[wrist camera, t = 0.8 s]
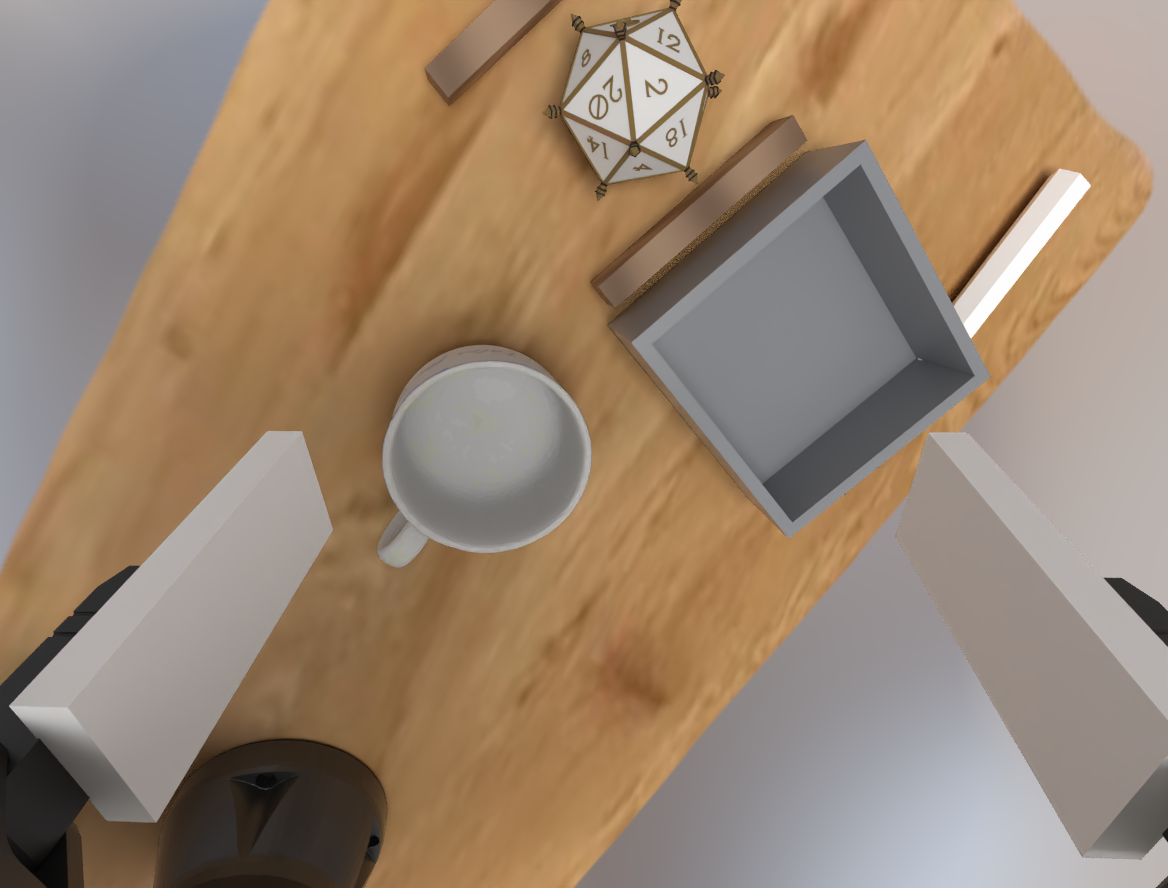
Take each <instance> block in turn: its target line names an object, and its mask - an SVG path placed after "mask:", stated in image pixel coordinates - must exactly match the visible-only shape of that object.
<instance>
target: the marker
mask: <svg viewBox="0 0 1168 888" xmlns="http://www.w3.org/2000/svg"><path fill="white" fill-rule="evenodd" d="M1090 186H1091V185H1090V184H1089V183H1088V181H1087V180H1086V179H1085V178H1084V177H1083V176H1082V175H1081V174H1080V173H1076V172H1072V171H1068V170H1063V169H1058V170H1057V171H1055V172H1054V173H1053V174H1051V175H1050V176H1049V178H1048V179H1047V180H1046V181H1045V183H1044V184H1043V185H1042V187H1041V188H1040V189H1039V191H1038V192H1037V193H1036V194H1035V196H1034V197H1033V198H1032V200H1031V201H1030V202H1029V204H1028V205H1027V206H1026V207H1025V209H1024V210H1023V211H1022V213H1021V214H1020V215H1019V217H1018V218H1017V219H1016V221H1015V222H1014V223H1013V224H1012V226H1011V227H1010V228H1009V230H1008V231H1007V232H1006V234H1005V235H1004V236H1003V237H1002V239H1001V240H1000V241H999V243H998V244H997V245H996V247H995V248H994V249H993V250H992V252H991V253H990V254H989V256H988V257H987V258H986V260H985V261H984V262H983V264H982V265H981V266H980V267H979V269H978V270H977V271H976V273H975V274H974V275H973V277H972V278H971V279H970V280H969V282H968V283H967V284H966V286H965V287H964V288H963V290H962V291H961V292H960V293H959V295H958V296H957V297H956V299H955V300H954V301H953V303H952V304H953V306H954V308H955V310H956V312H957V314H958V316H959V317H960V319H961V321H962V323H963V325H964V327H965V329H966V331H967V333H968V335H969V336H970V338H972V337H973V335H974V334H975V333H976V331H977V330H978V329H979V328H980V326H981V325H982V324H983V323H984V321H985V320H986V319H987V317H988V316H989V315H990V314H991V312H992V311H993V310H994V309H995V307H996V306H997V305H998V303H999V302H1000V301H1001V300H1002V298H1003V297H1004V296H1005V294H1006V293H1007V292H1008V291H1009V289H1010V288H1011V287H1012V286H1013V284H1014V283H1015V282H1016V280H1017V279H1018V278H1019V277H1020V275H1021V274H1022V273H1023V272H1024V270H1025V269H1026V268H1027V266H1028V265H1029V264H1030V263H1031V261H1032V260H1033V259H1034V258H1035V256H1036V255H1037V254H1038V252H1039V251H1040V250H1041V249H1042V247H1043V246H1044V245H1045V244H1046V242H1047V241H1048V240H1049V238H1050V237H1051V236H1052V235H1053V233H1054V232H1055V231H1056V230H1057V228H1058V227H1059V226H1060V224H1061V223H1062V222H1063V221H1064V219H1065V218H1066V217H1067V215H1068V214H1069V213H1070V212H1071V210H1072V209H1073V208H1074V207H1075V205H1076V204H1077V203H1078V201H1079V200H1080V199H1081V198H1082V196H1083V195H1084V194H1085V193H1086V191H1087V190H1088V189H1089V187H1090ZM917 359H918V360H922V359H920V358H917Z"/></svg>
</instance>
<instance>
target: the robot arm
mask: <svg viewBox="0 0 1168 888" xmlns="http://www.w3.org/2000/svg"><path fill="white" fill-rule="evenodd" d="M332 531H333V528H332V525H331V522H330V518H329V515H328V512H327V509H326V506H325V503H324V499H323V496H322V493H321V490H320V487H319V484H318V480H317V477H316V474H315V471H314V468H313V465H312V461H311V458H310V455H309V452H308V449H307V446H306V442H305V439H304V436H303V433H302V431H267V432H266V433H265V434H264V435H263V436H262V437H261V439H260V440H259V441H258V442H257V443H256V444H255V445H254V446H253V447H252V448H251V449H250V450H249V451H248V452H247V453H246V454H245V456H244V457H243V458H242V459H241V460H240V461H239V462H238V463H237V464H236V465H235V466H234V467H233V468H232V469H231V470H230V471H229V473H228V474H227V475H226V476H225V477H224V478H223V479H222V480H221V481H220V482H219V483H218V484H217V485H216V486H215V487H214V488H213V490H212V491H211V492H210V493H209V494H208V495H207V496H206V497H205V498H204V499H203V500H202V501H201V502H200V503H199V504H198V505H197V507H196V508H195V509H194V510H193V511H192V512H191V513H190V514H189V515H188V516H187V517H186V518H185V519H184V520H183V521H182V523H181V524H180V525H179V526H178V527H177V528H176V529H175V530H174V531H173V532H172V533H171V534H170V535H169V536H168V537H167V538H166V540H165V541H164V542H163V543H162V544H161V545H160V546H159V547H158V548H157V549H156V550H155V551H154V552H153V553H152V554H151V555H150V557H149V558H148V559H147V560H146V561H145V562H144V563H143V564H142V565H141V566H129V567H127V568H126V569H124V570H123V571H121V572H120V573H118V574H116V575H115V576H113V577H112V578H110V579H109V580H107V581H106V582H104V583H103V584H101V585H100V586H98V587H97V588H96V589H95V590H94V591H93V592H92V593H91V594H90V595H89V596H88V597H87V598H86V599H85V600H84V601H83V602H82V603H81V604H80V605H79V606H78V607H77V608H76V609H75V610H74V615H73V616H69V617H68V618H67V619H66V620H65V621H64V622H63V623H62V624H61V625H60V626H59V627H58V628H57V629H56V630H55V631H54V635H53V637H48V638H47V639H46V640H45V641H44V642H43V643H42V644H41V645H40V646H39V647H38V648H37V649H36V650H35V651H34V652H33V653H32V654H31V655H30V656H29V657H28V658H27V659H26V660H25V661H24V662H23V663H22V664H21V665H20V666H19V667H18V668H17V669H16V670H15V671H14V672H13V673H12V674H11V675H10V676H9V677H8V678H7V679H6V680H5V682H4V683H3V684H2V685H1V686H0V888H84V879H83V862H82V846H81V836H80V833H79V831H78V828H77V826H76V824H75V823H74V822H73V820H74V819H75V818H76V816H77V815H78V813H79V812H80V811H81V809H82V808H83V806H84V805H85V804H86V802H87V801H88V799H89V801H90V802H91V803H92V804H93V805H94V806H95V808H96V809H97V810H98V811H99V812H100V814H101V815H102V816H103V817H104V818H105V819H106V821H124V822H150V823H157V821H158V819H159V818H160V816H161V814H162V813H163V811H164V809H165V808H166V806H167V804H168V803H169V801H170V799H171V798H172V796H173V794H174V793H175V791H176V789H177V788H178V786H179V784H180V783H181V781H182V779H183V778H184V776H185V774H186V773H187V771H188V770H189V768H190V766H191V765H192V763H193V761H194V760H195V758H196V756H197V755H198V753H199V751H200V750H201V748H202V746H203V745H204V743H205V741H206V740H207V738H208V736H209V735H210V733H211V731H212V730H213V728H214V726H215V725H216V723H217V721H218V720H219V718H220V717H221V715H222V713H223V712H224V710H225V708H226V707H227V705H228V703H229V702H230V700H231V698H232V697H233V695H234V693H235V692H236V690H237V688H238V687H239V685H240V683H241V682H242V680H243V678H244V677H245V675H246V673H247V672H248V670H249V668H250V667H251V665H252V664H253V662H254V660H255V659H256V657H257V655H258V654H259V652H260V650H261V649H262V647H263V645H264V644H265V642H266V640H267V639H268V637H269V635H270V634H271V632H272V630H273V629H274V627H275V625H276V624H277V622H278V620H279V619H280V617H281V616H282V614H283V612H284V611H285V609H286V607H287V606H288V604H289V602H290V601H291V599H292V597H293V596H294V594H295V592H296V591H297V589H298V587H299V586H300V584H301V582H302V581H303V579H304V577H305V576H306V574H307V572H308V571H309V569H310V567H311V566H312V564H313V563H314V561H315V559H316V558H317V556H318V554H319V553H320V551H321V549H322V548H323V546H324V544H325V543H326V541H327V539H328V538H329V536H330V534H331V533H332ZM896 538H897V540H898V541H899V543H900V545H901V547H902V548H903V550H904V552H905V554H906V555H907V557H908V558H909V560H910V562H911V564H912V566H913V567H914V569H915V571H916V572H917V574H918V576H919V577H920V579H921V581H922V583H923V584H924V586H925V588H926V589H927V591H928V593H929V595H930V596H931V598H932V600H933V601H934V603H935V605H936V607H937V609H938V610H939V612H940V613H941V615H942V617H943V619H944V621H945V622H946V624H947V626H948V627H949V629H950V631H951V632H952V634H953V636H954V638H955V639H956V641H957V643H958V645H959V646H960V648H961V650H962V651H963V653H964V655H965V656H966V658H967V660H968V662H969V663H970V665H971V667H972V669H973V670H974V672H975V674H976V675H977V677H978V679H979V680H980V682H981V684H982V686H983V687H984V689H985V691H986V693H987V694H988V696H989V698H990V700H991V701H992V703H993V705H994V706H995V708H996V710H997V711H998V713H999V715H1000V717H1001V718H1002V720H1003V722H1004V724H1005V725H1006V727H1007V729H1008V730H1009V732H1010V734H1011V735H1012V737H1013V739H1014V741H1015V743H1016V744H1017V746H1018V748H1019V749H1020V751H1021V753H1022V755H1023V756H1024V758H1025V760H1026V761H1027V763H1028V765H1029V767H1030V768H1031V770H1032V772H1033V773H1034V775H1035V777H1036V779H1037V780H1038V782H1039V784H1040V785H1041V787H1042V789H1043V791H1044V792H1045V794H1046V796H1047V798H1048V799H1049V801H1050V803H1051V804H1052V806H1053V808H1054V809H1055V811H1056V813H1057V815H1058V816H1059V818H1060V820H1061V822H1062V823H1063V825H1064V827H1065V828H1066V830H1067V832H1068V834H1069V835H1070V837H1071V839H1072V840H1073V842H1074V844H1075V846H1076V847H1077V849H1078V851H1079V853H1080V854H1081V856H1082V857H1086V858H1112V859H1139V860H1141V859H1142V858H1143V857H1144V856H1145V855H1146V854H1147V853H1148V852H1149V851H1150V849H1152V847H1154V845H1155V844H1156V843H1157V842H1158V841H1159V840H1160V839H1161V838H1162V837H1163V836H1164V838H1165V839H1166V841H1167V842H1168V611H1167V610H1166V609H1165V608H1164V607H1163V606H1162V605H1161V604H1160V603H1159V602H1158V601H1156V600H1155V599H1153V598H1151V597H1150V596H1148V595H1147V594H1145V593H1144V592H1142V591H1141V590H1139V589H1138V588H1136V587H1135V586H1133V585H1131V584H1130V583H1128V582H1127V581H1125V580H1124V579H1122V578H1103V577H1102V576H1101V575H1100V574H1099V573H1098V572H1097V571H1096V570H1095V569H1094V568H1093V567H1092V566H1091V564H1090V563H1089V562H1088V561H1087V560H1086V559H1085V558H1084V557H1083V556H1082V555H1081V554H1080V553H1079V552H1078V551H1077V550H1076V548H1075V547H1074V546H1073V545H1072V544H1071V543H1070V542H1069V541H1068V540H1067V539H1066V538H1065V537H1064V536H1063V535H1062V534H1061V532H1060V531H1059V530H1058V529H1057V528H1056V527H1055V526H1054V525H1053V524H1052V523H1051V522H1050V521H1049V520H1048V518H1047V517H1046V516H1044V514H1043V513H1042V512H1041V511H1040V510H1039V509H1038V508H1037V507H1036V506H1035V505H1034V504H1033V502H1032V501H1031V500H1030V499H1029V498H1028V497H1027V496H1026V495H1025V494H1024V493H1023V492H1022V491H1021V490H1020V489H1019V487H1018V486H1016V484H1015V483H1014V482H1013V481H1012V480H1011V479H1010V478H1009V477H1008V476H1007V475H1006V474H1005V473H1004V472H1003V470H1002V469H1001V468H1000V467H999V466H998V465H997V464H996V463H995V462H994V461H993V460H992V459H991V458H990V456H989V455H988V454H987V453H986V452H985V451H984V450H983V449H982V448H981V447H980V446H979V445H978V444H977V443H976V441H975V440H974V439H973V438H972V437H971V436H970V435H969V434H968V433H928V436H927V439H926V442H925V445H924V448H923V451H922V454H921V457H920V461H919V464H918V467H917V470H916V473H915V476H914V479H913V482H912V486H911V489H910V492H909V495H908V498H907V502H906V505H905V508H904V511H903V514H902V517H901V520H900V523H899V526H898V529H897V533H896ZM386 819H387V802H386V798H385V794H384V791H383V789H382V787H381V785H380V783H379V782H378V780H377V779H376V777H375V776H374V775H373V774H372V773H371V771H370V770H369V769H367V768H366V767H365V766H364V765H363V764H362V763H360V762H359V761H358V760H356V759H355V758H353V757H351V756H350V755H348V754H346V753H344V752H341V751H339V750H337V749H334V748H331V747H328V746H325V745H321V744H317V743H312V742H305V741H294V740H277V741H266V742H259V743H254V744H250V745H246V746H242V747H239V748H236V749H233V750H230V751H228V752H226V753H223V754H221V755H219V756H217V757H215V758H214V759H212V760H210V761H209V762H207V763H206V764H204V765H203V766H201V767H200V768H199V769H198V770H197V771H195V772H194V773H193V774H192V775H191V776H190V777H189V778H188V779H187V781H186V782H185V783H184V785H183V786H182V787H181V789H180V791H179V792H178V794H177V796H176V798H175V800H174V802H173V804H172V806H171V808H170V810H169V812H168V814H167V816H166V818H165V821H164V823H163V826H162V829H161V833H160V836H159V843H158V853H157V860H156V867H155V876H154V884H153V888H364V887H365V885H366V883H367V881H368V879H369V877H370V875H371V872H372V870H373V868H374V866H375V864H376V862H377V860H378V858H379V855H380V852H381V849H382V845H383V840H384V834H385V826H386ZM1156 888H1168V876H1167V877H1166V878H1165V879H1164V880H1163V881H1162V882H1161V883H1160V884H1159V885H1158V886H1157V887H1156Z"/></svg>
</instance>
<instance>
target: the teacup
mask: <svg viewBox="0 0 1168 888" xmlns="http://www.w3.org/2000/svg"><path fill="white" fill-rule="evenodd" d="M591 460H592V446H591V440H590V435H589V431H588V428H587V424H586V422H585V420H584V418H583V416H582V414H581V411H580V409H579V408H578V406H577V405H576V403H575V402H574V400H573V399H572V398H571V397H570V395H569V394H568V393H567V392H566V391H565V390H564V389H563V388H562V387H561V386H560V385H559V384H558V382H557V381H556V380H555V379H554V378H553V377H552V376H551V374H550V373H549V372H548V371H546V370H545V369H544V368H543V367H542V366H541V365H540V364H538V363H537V362H535V361H534V360H532V359H531V358H529V357H527V356H526V355H524V354H522V353H520V352H517V351H514V350H511V349H508V348H504V347H500V346H493V345H472V346H465V347H461V348H457V349H454V350H451V351H448V352H446V353H444V354H442V355H440V356H438V357H436V358H434V359H433V360H431V361H430V362H428V363H427V364H426V365H424V366H423V367H422V368H421V369H420V370H419V371H418V372H417V373H416V374H415V375H414V376H413V377H412V378H411V379H410V381H409V382H408V384H407V385H406V386H405V388H404V390H403V391H402V393H401V395H400V397H399V399H398V402H397V404H396V407H395V409H394V413H393V416H392V419H391V421H390V424H389V426H388V429H387V432H386V435H385V438H384V441H383V456H382V467H383V474H384V480H385V482H386V486H387V490H388V492H389V494H390V496H391V498H392V500H393V501H394V503H395V505H396V506H397V508H398V509H399V511H398V512H397V514H396V515H395V517H394V518H393V519H392V521H391V522H390V524H389V525H388V527H387V528H386V529H385V531H384V533H383V535H382V537H381V538H380V540H379V543H378V546H377V553H378V556H379V558H380V559H381V560H382V561H383V562H385V563H387V564H388V565H390V566H393V567H397V568H399V567H403V566H405V565H407V564H408V563H409V562H410V561H411V560H412V559H413V558H414V557H415V556H416V555H417V554H418V553H419V552H420V551H421V549H422V548H423V547H424V545H425V544H426V542H427V541H428V539H429V538H431V539H433V540H435V541H436V542H439V543H441V544H443V545H446V546H449V547H453V548H456V549H459V550H463V551H467V552H476V553H495V552H503V551H508V550H512V549H516V548H519V547H522V546H525V545H528V544H530V543H532V542H534V541H536V540H538V539H539V538H541V537H543V536H545V535H547V534H548V533H550V532H551V531H552V530H554V529H555V528H556V527H557V526H559V525H560V524H561V523H562V522H563V521H564V520H565V519H566V518H567V517H568V516H569V514H570V513H571V512H572V511H573V509H574V508H575V506H576V505H577V503H578V501H579V500H580V498H581V496H582V494H583V492H584V489H585V487H586V484H587V481H588V479H589V474H590V470H591Z"/></svg>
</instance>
